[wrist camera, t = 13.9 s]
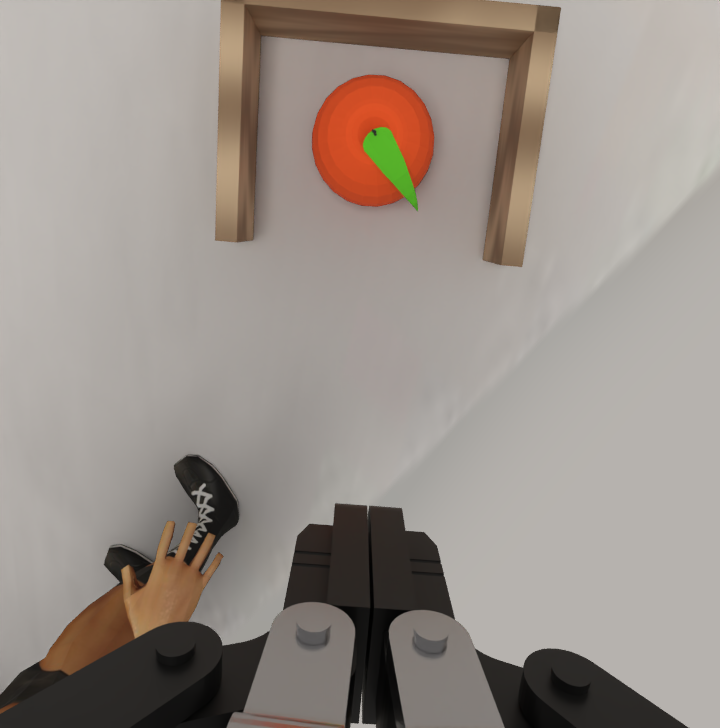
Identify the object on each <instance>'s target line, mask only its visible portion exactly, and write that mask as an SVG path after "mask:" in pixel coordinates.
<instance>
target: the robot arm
mask: <svg viewBox="0 0 720 728" xmlns="http://www.w3.org/2000/svg"><path fill="white" fill-rule="evenodd" d="M361 694H362V723H363V724H376V728H688V727H687V726H685V725H684V724H682V723H681V722H679V721H678V720H676V719H675V718H673V717H672V716H671V715H669V714H668V713H666V712H664V711H663V710H662V709H660V708H659V707H657V706H656V705H654V704H653V703H651V702H650V701H649V700H647V699H646V698H644V697H643V696H641V695H640V694H638V693H637V692H635V691H634V690H632V689H631V688H629V687H628V686H626V685H625V684H624V683H622V682H621V681H619V680H618V679H616V678H615V677H613V676H612V675H610V674H609V673H608V672H606V671H605V670H603V669H602V668H600V667H599V666H597V665H596V664H594V663H593V662H591V661H590V660H588V659H586V658H584V657H582V656H580V655H578V654H575V653H572V652H569V651H566V650H561V649H542V650H538V651H535V652H533V653H532V654H531V655H529V656H528V657H527V659H526V660H525V663H524V667H523V668H522V667H518V666H515V665H512V664H509V663H506V662H503V661H499V660H497V659H494V658H491V657H489V656H487V655H485V654H483V653H481V652H480V651H478V650H476V649H475V647H474V645H473V643H472V640H471V637H470V635H469V633H468V632H467V630H466V629H465V628H464V627H463V626H462V625H461V624H460V623H459V622H457V621H456V620H455V618H454V614H453V610H452V605H451V601H450V597H449V593H448V589H447V585H446V581H445V577H444V573H443V569H442V565H441V561H440V556H439V553H438V548H437V546H436V545H435V543H434V542H433V541H432V540H431V539H430V538H429V537H428V536H427V535H426V534H425V533H424V532H414V531H405V526H404V520H403V513H402V508H391V507H379V506H369V511H368V519H367V506H365V505H351V504H338V503H335V511H334V523H333V526H332V525H318V524H309V525H308V526H307V527H306V528H305V529H304V530H303V531H302V532H301V533H300V534H299V535H298V536H297V541H296V546H295V553H294V557H293V562H292V567H291V572H290V577H289V582H288V587H287V593H286V598H285V603H284V608H283V611H282V612H281V613H279V614H278V615H277V616H276V618H275V619H274V621H273V623H272V627H271V629H270V631H269V632H267V633H265V634H264V635H262V636H260V637H258V638H255V639H253V640H250V641H246V642H241V643H236V644H230V645H224V646H222V642H221V639H220V637H219V636H218V634H217V633H216V632H215V631H214V630H213V629H211V628H209V627H208V626H205V625H203V624H200V623H195V622H173V623H168V624H164V625H161V626H158V627H156V628H154V629H152V630H150V631H148V632H146V633H144V634H143V635H141V636H139V637H137V638H135V639H134V640H132V641H130V642H128V643H126V644H125V645H123V646H121V647H119V648H117V649H116V650H114V651H112V652H110V653H108V654H107V655H105V656H103V657H101V658H99V659H98V660H96V661H94V662H92V663H90V664H89V665H87V666H85V667H83V668H82V669H80V670H78V671H76V672H74V673H73V674H71V675H69V676H67V677H65V678H64V679H62V680H60V681H58V682H56V683H55V684H53V685H51V686H49V687H47V688H46V689H44V690H42V691H40V692H38V693H37V694H35V695H33V696H31V697H29V698H28V699H26V700H24V701H22V702H20V703H19V704H17V705H15V706H13V707H12V708H10V709H8V710H6V711H4V712H3V713H1V714H0V728H350V723H359V714H360V703H361Z"/></svg>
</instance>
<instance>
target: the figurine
mask: <svg viewBox="0 0 720 728" xmlns="http://www.w3.org/2000/svg"><path fill="white" fill-rule="evenodd" d="M174 470H175V474H176V477H177V478H178V480H179V482H180V483H181V485H182V486H183V488H184V490H185V491H186V493H187V494H188V496H189V497H190V498H191V500H192V501H193V502H194V504H195V505H196V506H197V508H198V524H196V523H191V522H188V524H187V527H186V530H185V532H184V535H183V537H182V540H181V543H180V544H179V545H177V546H176V547H175V548H173V549H172V550H171V551H169V552H168V549H169V546H170V543H171V540H172V537H173V533H174V528H175V522H174V521H167V523H166V526H165V528H164V530H163V533H162V537H161V540H160V543H159V546H158V550H157V555H156V560H155V562H152V561H151V560H149V559H148V558H146V557H145V556H143V555H142V554H140V553H139V552H137V551H135V550H133V549H130V548H128V547H126V546H124V545H115V546H110V548H109V550H108V553H107V556H106V559H105V563H104V565H105V566H106V568H107V569H108V570H109V571H110V572H111V573H112V574H113V575H114V576H115V577H116V578H117V579H118V580H119V581H120V583H119V584H118V585H116V586H115V587H114V588H113V589H111V590H110V591H109V592H107V593H106V594H104V595H103V596H102V597H100V598H99V599H97V600H96V601H94V602H93V603H92V604H90V605H89V606H88V607H87V608H86V609H84V610H83V611H82V612H81V613H80V614H79V615H78V616H77V617H76V618H75V619H74V620H73V621H72V622H71V623H69V624H68V625H67V627H66V628H65V629H64V631H63V632H62V634H61V635H60V636H59V638H58V639H57V640H56V642H55V643H54V644H53V646H52V647H51V648H50V650H49V652H48V654H47V656H46V658H44V659H42V660H41V661H39V662H37V663H36V664H34V665H32V666H31V667H29V668H27V669H26V670H24V671H22V672H21V673H20V674H19V675H18V676H17V677H16V678H15V679H14V680H13V682H12V683H11V684H10V685H9V686H8V687H7V688H6V689H5V690H4V692H3V693H2V694H1V695H0V714H1V713H3V712H4V711H6V710H8V709H10V708H12V707H13V706H15V705H17V704H19V703H20V702H22V701H24V700H26V699H28V698H29V697H31V696H33V695H35V694H37V693H38V692H40V691H42V690H44V689H46V688H47V687H49V686H51V685H53V684H55V683H56V682H58V681H60V680H62V679H64V678H65V677H67V676H69V675H71V674H73V673H74V672H76V671H78V670H80V669H82V668H83V667H85V666H87V665H89V664H90V663H92V662H94V661H96V660H98V659H99V658H101V657H103V656H105V655H107V654H108V653H110V652H112V651H114V650H116V649H117V648H119V647H121V646H123V645H125V644H126V643H128V642H130V641H132V640H134V639H135V638H137V637H139V636H141V635H143V634H144V633H146V632H148V631H150V630H152V629H154V628H156V627H158V626H161V625H164V624H168V623H173V622H188V621H189V619H190V617H191V615H192V613H193V612H194V610H195V608H196V606H197V603H198V601H199V598H200V596H201V593H202V591H203V589H204V588H205V586H206V584H207V583H208V581H209V580H210V578H211V576H212V575H213V573H214V572H215V570H216V569H217V567H218V566H219V564H220V562H221V559H222V558H223V555H222V554H220V553H218V554H217V555H216V557H215V559H214V560H213V562H212V564H211V565H210V567H209V568H208V569H207V571H206V572H205V573H204V574H203V575H202V574H201V573H200V572H201V570H202V569H203V567H204V565H205V563H206V561H207V559H208V557H209V555H210V553H211V551H212V549H213V547H214V546H215V545H216V543H217V542H218V540H219V539H220V537H221V536H223V535H224V534H225V533H226V532H227V531H229V530H230V529H231V528H233V527H235V526H236V525H237V523H238V520H239V510H238V500H237V499H236V497H235V496H234V494H233V493H232V491H231V489H230V488H229V486H228V485H227V483H226V482H225V480H224V478H223V477H222V476H221V474H220V473H219V472H218V471H217V470H216V468H215V467H214V466H213V465H212V464H210V463H209V462H207V461H206V460H204V459H202V458H201V457H199V456H192V455H187V456H186V457H184V458H183V459H181V460H180V461H178V462H177V463H176V464H175V465H174ZM167 552H168V553H167Z"/></svg>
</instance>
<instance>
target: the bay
mask: <svg viewBox="0 0 720 728" xmlns="http://www.w3.org/2000/svg"><path fill="white" fill-rule="evenodd" d="M560 11H561V7H551V6H541V5H530V4H520V3H509V2H498V1H488V0H221V23H220V64H219V106H218V148H217V189H216V231H215V240H216V241H228V242H242V241H250V240H253V228H254V203H255V177H256V152H257V127H258V101H259V76H260V50H261V36H271V37H282V38H292V39H303V40H314V41H325V42H336V43H346V44H357V45H368V46H379V47H389V48H400V49H411V50H422V51H432V52H443V53H454V54H465V55H475V56H486V57H497V58H508V59H510V61H509V68H508V75H507V83H506V90H505V98H504V105H503V113H502V120H501V128H500V135H499V143H498V150H497V158H496V165H495V173H494V180H493V188H492V195H491V203H490V210H489V218H488V225H487V233H486V240H485V248H484V255H483V260H485V261H488V262H492V263H495V264H499V265H506V266H518V267H522V264H523V258H524V251H525V244H526V238H527V231H528V224H529V218H530V211H531V204H532V198H533V191H534V184H535V178H536V171H537V164H538V158H539V151H540V145H541V138H542V131H543V125H544V118H545V111H546V105H547V98H548V91H549V85H550V78H551V71H552V65H553V58H554V51H555V45H556V38H557V31H558V25H559V18H560Z"/></svg>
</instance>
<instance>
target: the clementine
mask: <svg viewBox="0 0 720 728" xmlns="http://www.w3.org/2000/svg"><path fill="white" fill-rule="evenodd" d="M433 147H434V132H433V127H432V121H431V117H430V115H429V113H428V111H427V109H426V106H425V104H424V103H423V101H422V100H421V99H420V98H419V96H418V95H417V94H416V93H415V92H414V90H412V89H411V88H409V87H408V86H407V85H405V84H404V83H402V82H401V81H399V80H396V79H393V78H390V77H387V76H382V75H365V76H361V77H357V78H353V79H351V80H349V81H347V82H346V83H344V84H342V85H340V86H338V87H337V88H336V89H335V90H334V91H333V92H332V93H331V94H330V95H329V96H328V97H327V98H326V100H325V102H324V103H323V105H322V107H321V109H320V110H319V112H318V114H317V118H316V121H315V125H314V128H313V133H312V150H313V155H314V159H315V164H316V166H317V168H318V170H319V172H320V174H321V176H322V178H323V180H324V181H325V182H326V184H327V185H328V186H329V187H330V188H331V189H332V190H333V191H334V192H335V193H336V194H338V195H339V196H341V197H342V198H344V199H345V200H347V201H349V202H352V203H355V204H358V205H361V206H377V207H378V206H382V205H386V204H391V203H394V202H396V201H398V200H400V199H401V198H403V197H405V198H406V199H407V200H408V201H409V202H410V203H411V204H412V205H413V207H414V208H415V209H416V210H417V211H418V204H417V198H416V194H415V190H414V189H415V188H416V187H417V186H418V185H419V183H420V182H421V180H422V179H423V177H424V176H425V174H426V173H427V171H428V168H429V165H430V162H431V159H432V156H433Z"/></svg>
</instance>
